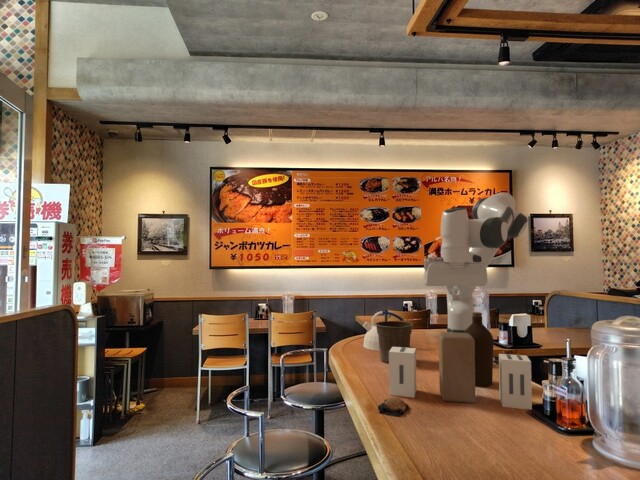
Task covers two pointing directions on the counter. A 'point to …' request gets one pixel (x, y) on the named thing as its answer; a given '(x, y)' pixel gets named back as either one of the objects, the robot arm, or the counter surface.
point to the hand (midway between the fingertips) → (455, 300)
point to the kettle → (374, 332)
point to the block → (457, 367)
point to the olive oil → (482, 351)
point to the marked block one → (402, 371)
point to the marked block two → (515, 381)
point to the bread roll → (393, 407)
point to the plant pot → (393, 336)
